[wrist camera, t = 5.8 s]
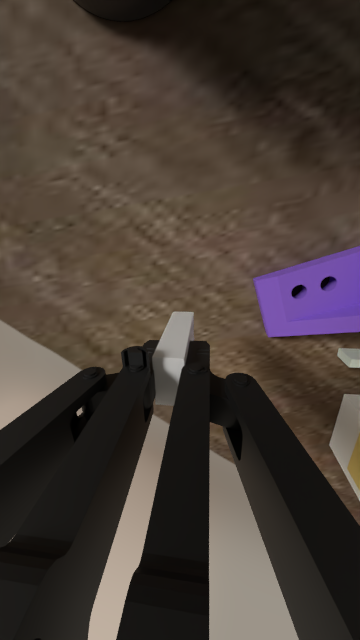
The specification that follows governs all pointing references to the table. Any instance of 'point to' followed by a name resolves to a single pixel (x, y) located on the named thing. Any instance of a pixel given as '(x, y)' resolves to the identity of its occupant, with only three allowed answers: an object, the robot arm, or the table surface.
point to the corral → (350, 357)
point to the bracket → (312, 297)
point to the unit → (348, 439)
